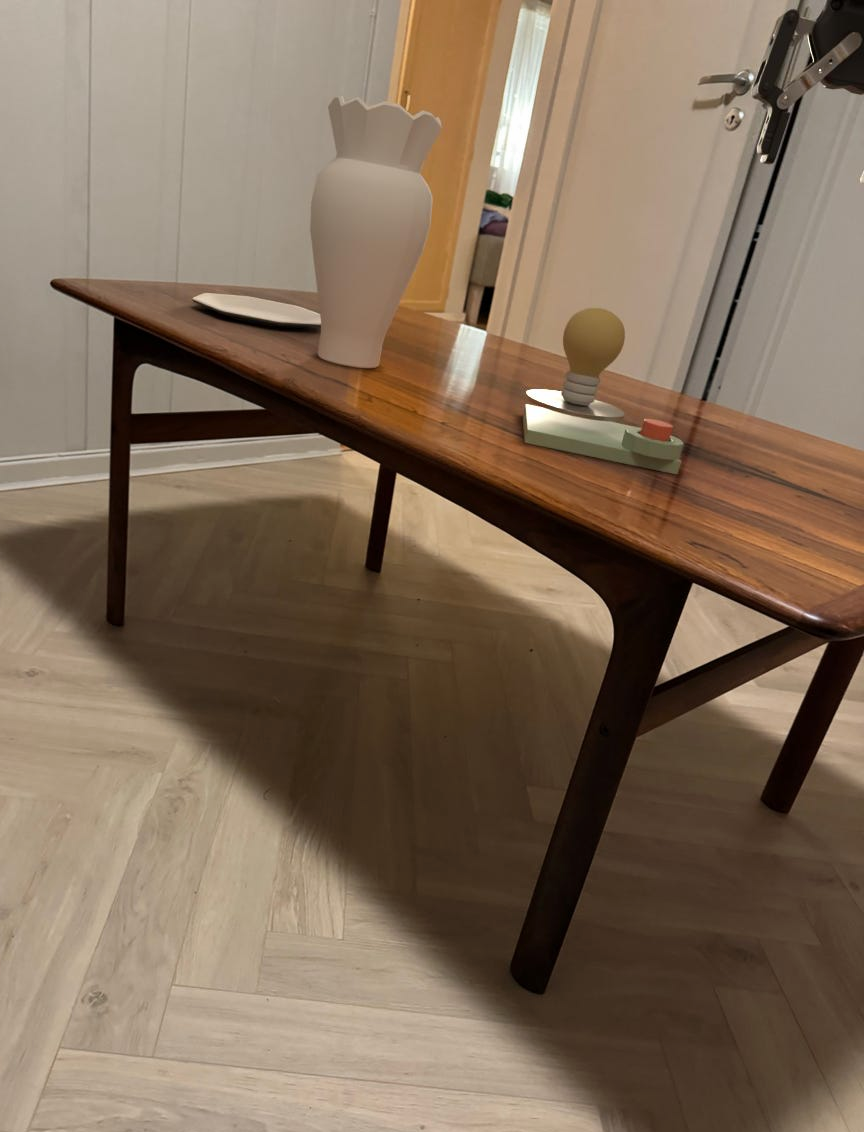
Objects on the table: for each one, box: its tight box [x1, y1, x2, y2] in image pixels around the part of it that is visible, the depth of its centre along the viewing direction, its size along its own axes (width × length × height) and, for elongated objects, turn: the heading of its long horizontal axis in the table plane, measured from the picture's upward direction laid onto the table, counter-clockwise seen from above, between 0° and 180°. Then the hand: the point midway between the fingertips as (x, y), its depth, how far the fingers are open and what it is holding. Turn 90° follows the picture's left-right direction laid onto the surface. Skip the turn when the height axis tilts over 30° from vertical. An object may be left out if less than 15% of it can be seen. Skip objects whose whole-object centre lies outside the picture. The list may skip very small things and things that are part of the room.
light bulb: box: [560, 307, 626, 406], centre depth 97 cm, size 6×6×10 cm
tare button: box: [640, 418, 674, 442], centre depth 93 cm, size 3×3×2 cm
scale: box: [522, 403, 685, 476], centre depth 98 cm, size 16×15×3 cm
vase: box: [309, 94, 443, 369], centre depth 111 cm, size 15×15×29 cm
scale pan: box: [525, 389, 626, 422], centre depth 100 cm, size 11×11×1 cm
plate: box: [191, 292, 321, 329], centre depth 137 cm, size 20×20×2 cm
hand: (817, 173), depth 76 cm, fingers open, 8 cm apart
